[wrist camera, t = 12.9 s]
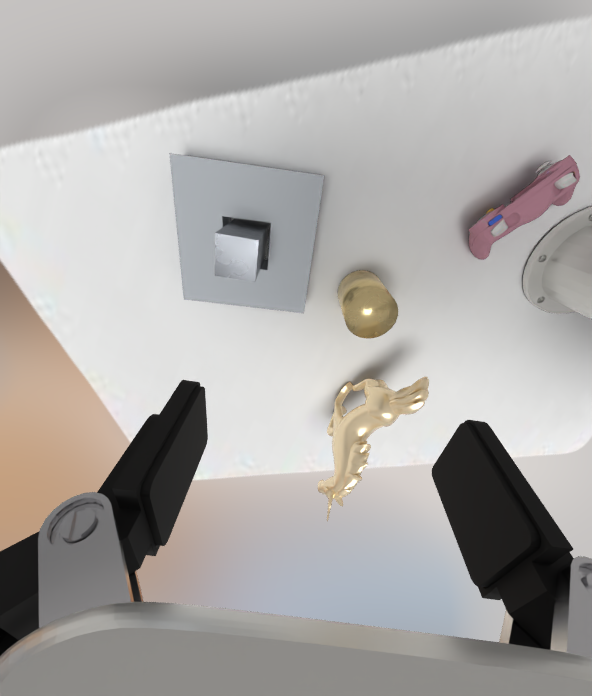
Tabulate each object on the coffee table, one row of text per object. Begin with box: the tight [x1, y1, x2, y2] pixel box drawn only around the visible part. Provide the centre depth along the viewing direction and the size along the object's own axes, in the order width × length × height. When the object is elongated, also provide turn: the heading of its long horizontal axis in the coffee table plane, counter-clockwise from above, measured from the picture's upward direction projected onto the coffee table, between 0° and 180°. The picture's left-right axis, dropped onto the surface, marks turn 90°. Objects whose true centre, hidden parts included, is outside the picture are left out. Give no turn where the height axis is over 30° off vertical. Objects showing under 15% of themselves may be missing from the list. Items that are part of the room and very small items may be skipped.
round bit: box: [338, 270, 398, 338], centre depth 33 cm, size 6×6×7 cm
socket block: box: [170, 153, 324, 313], centre depth 31 cm, size 14×14×4 cm
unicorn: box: [318, 377, 429, 521], centre depth 37 cm, size 20×4×17 cm, turn 142°
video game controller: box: [469, 155, 580, 260], centre depth 28 cm, size 10×5×7 cm, turn 132°
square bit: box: [215, 218, 270, 282], centre depth 28 cm, size 4×4×10 cm
